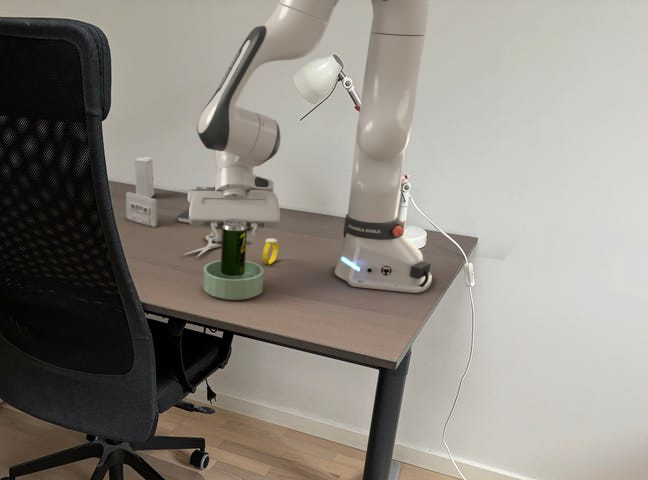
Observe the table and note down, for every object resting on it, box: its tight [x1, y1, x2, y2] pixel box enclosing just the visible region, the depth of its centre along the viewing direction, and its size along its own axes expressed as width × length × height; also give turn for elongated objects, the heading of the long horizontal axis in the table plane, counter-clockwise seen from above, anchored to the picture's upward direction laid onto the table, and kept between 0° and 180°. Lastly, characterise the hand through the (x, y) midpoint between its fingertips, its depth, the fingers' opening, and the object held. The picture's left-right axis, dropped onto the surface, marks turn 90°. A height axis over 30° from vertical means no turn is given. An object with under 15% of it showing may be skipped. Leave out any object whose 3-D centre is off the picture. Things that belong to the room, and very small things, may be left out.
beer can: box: [220, 219, 248, 279], centre depth 163 cm, size 5×5×12 cm
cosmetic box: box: [134, 156, 155, 198], centre depth 235 cm, size 6×4×12 cm
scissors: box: [182, 231, 222, 258], centre depth 192 cm, size 11×1×20 cm
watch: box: [262, 237, 279, 266], centre depth 182 cm, size 6×3×6 cm, turn 148°
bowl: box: [202, 259, 265, 301], centre depth 166 cm, size 13×13×5 cm
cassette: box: [125, 191, 158, 228], centre depth 211 cm, size 12×2×8 cm, turn 47°
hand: (233, 243), depth 162 cm, fingers closed on beer can, 5 cm apart
